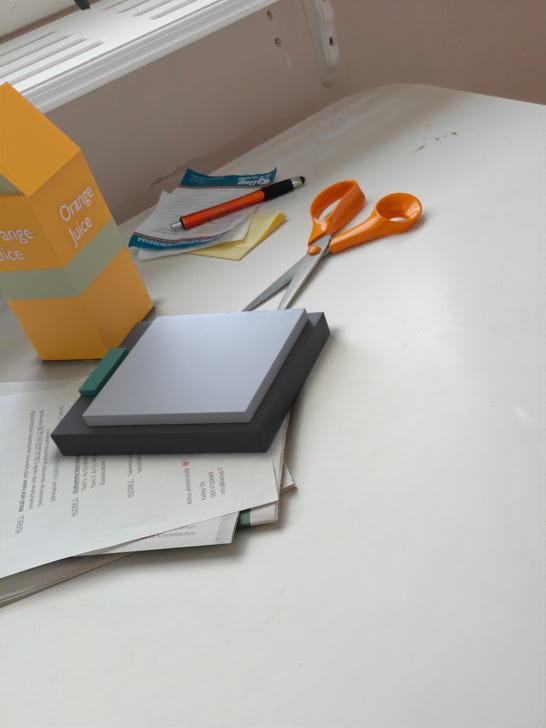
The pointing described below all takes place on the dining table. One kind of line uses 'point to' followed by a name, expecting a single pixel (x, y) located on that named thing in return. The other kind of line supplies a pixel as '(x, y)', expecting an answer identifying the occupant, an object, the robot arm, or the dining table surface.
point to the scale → (195, 384)
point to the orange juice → (60, 242)
